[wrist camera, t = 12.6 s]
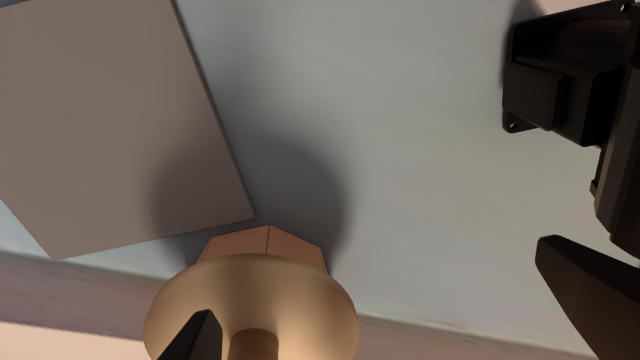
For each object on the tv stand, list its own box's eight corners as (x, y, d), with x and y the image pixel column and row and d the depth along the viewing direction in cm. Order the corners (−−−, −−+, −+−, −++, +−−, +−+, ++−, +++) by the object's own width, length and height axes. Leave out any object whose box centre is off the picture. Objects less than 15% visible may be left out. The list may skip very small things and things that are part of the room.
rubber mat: (160, -32, 16) (156, -33, 15) (255, 214, 23) (254, 218, 23) (-121, 40, 16) (-132, 41, 16) (57, 256, 24) (53, 261, 23)
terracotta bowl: (311, 215, 24) (314, 259, 20) (338, 311, 29) (345, 361, 25) (170, 245, 24) (146, 294, 20) (222, 334, 29) (210, 386, 25)
